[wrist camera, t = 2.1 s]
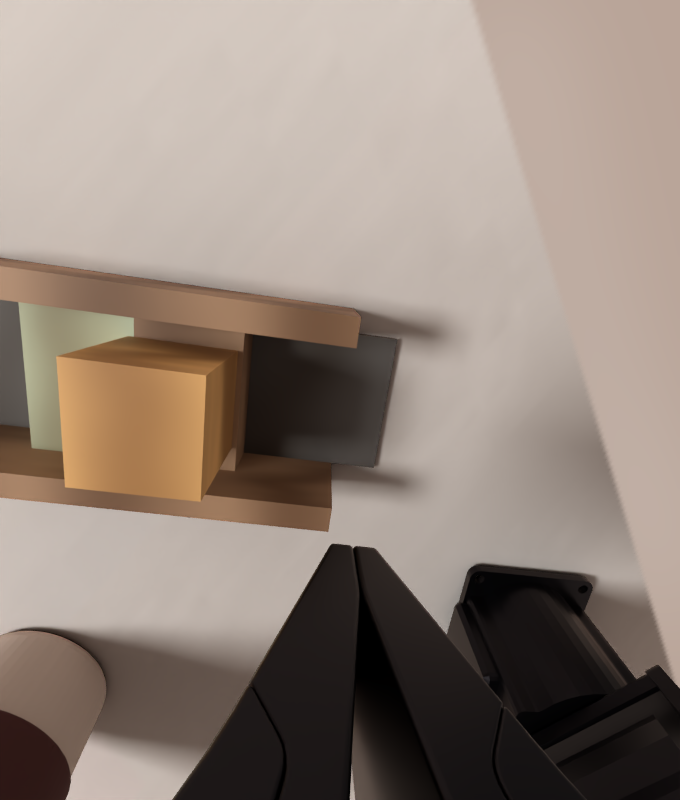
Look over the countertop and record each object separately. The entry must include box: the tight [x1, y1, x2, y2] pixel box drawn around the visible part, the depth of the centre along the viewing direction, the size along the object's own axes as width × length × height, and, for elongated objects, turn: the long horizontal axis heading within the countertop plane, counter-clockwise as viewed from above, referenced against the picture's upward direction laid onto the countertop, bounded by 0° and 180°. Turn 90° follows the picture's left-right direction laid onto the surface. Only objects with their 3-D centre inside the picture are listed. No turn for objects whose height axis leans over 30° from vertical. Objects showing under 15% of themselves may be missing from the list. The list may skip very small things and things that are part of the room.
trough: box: [0, 258, 397, 532], centre depth 15 cm, size 20×8×4 cm, turn 82°
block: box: [56, 336, 238, 502], centre depth 13 cm, size 4×4×4 cm
